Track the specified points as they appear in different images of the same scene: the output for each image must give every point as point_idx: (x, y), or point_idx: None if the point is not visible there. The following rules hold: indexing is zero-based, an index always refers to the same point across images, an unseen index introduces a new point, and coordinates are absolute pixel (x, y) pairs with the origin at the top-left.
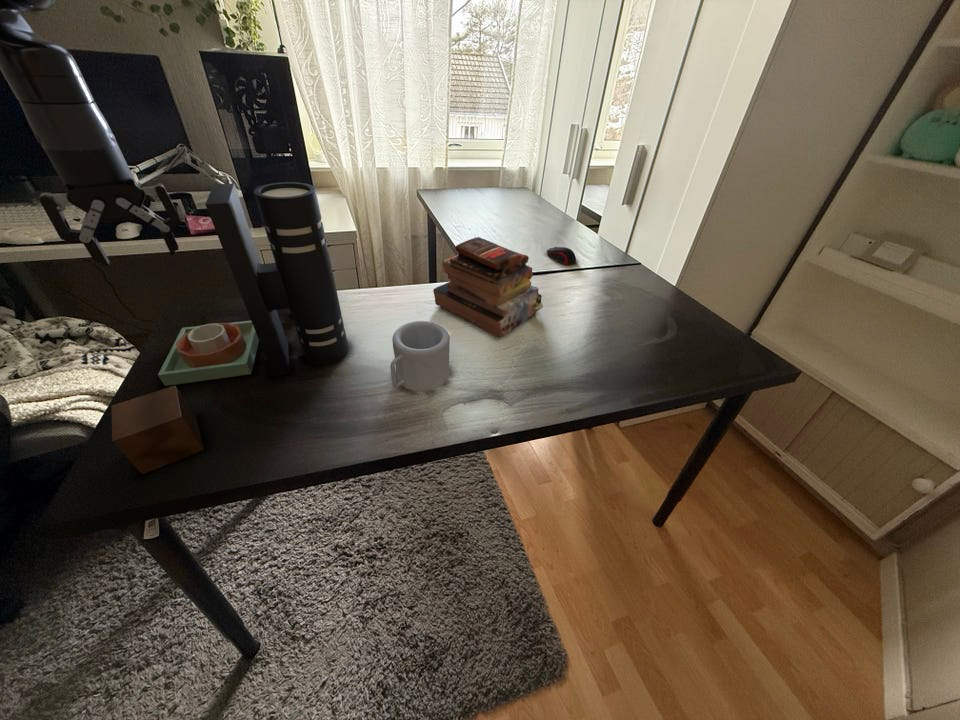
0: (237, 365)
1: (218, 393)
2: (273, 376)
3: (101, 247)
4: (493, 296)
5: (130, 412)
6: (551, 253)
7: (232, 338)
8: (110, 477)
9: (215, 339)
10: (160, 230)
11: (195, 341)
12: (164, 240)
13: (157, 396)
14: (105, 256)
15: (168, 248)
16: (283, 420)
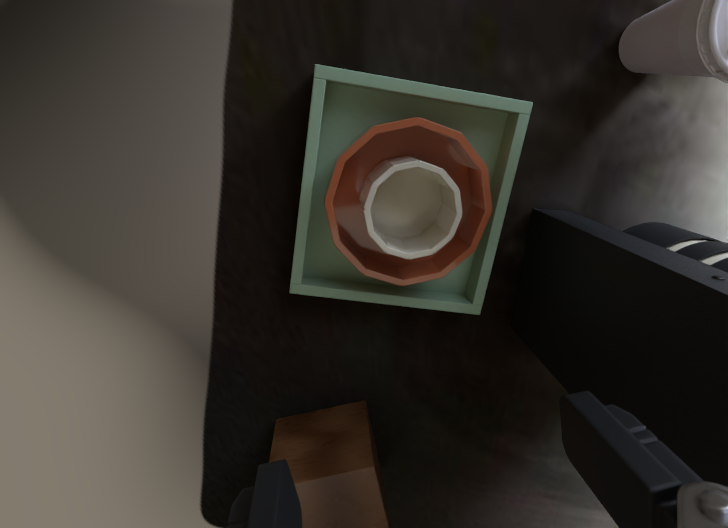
0: (458, 311)
1: (401, 341)
2: (512, 328)
3: (276, 516)
4: None
5: (304, 517)
6: None
7: (446, 153)
8: (252, 480)
9: (435, 251)
10: (651, 517)
11: (387, 252)
12: (618, 525)
13: (344, 489)
14: (290, 509)
15: (588, 485)
16: (506, 447)
